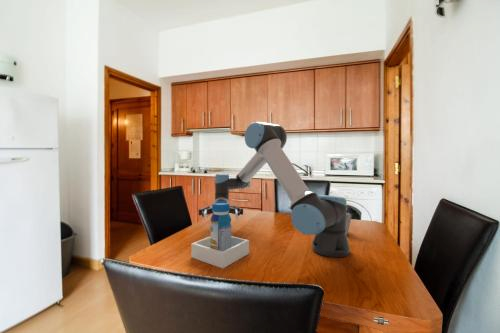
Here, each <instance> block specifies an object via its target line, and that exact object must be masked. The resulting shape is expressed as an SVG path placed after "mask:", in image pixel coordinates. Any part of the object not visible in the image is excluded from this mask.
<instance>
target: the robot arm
mask: <svg viewBox="0 0 500 333" xmlns="http://www.w3.org/2000/svg"><path fill="white" fill-rule="evenodd" d="M287 139H288V135H287V132H286V129H285V128H284V127H282V126H281V125H280V124H277V123H270V122H269V123H268V122H263V121H253V122H251V123H250V124H248V126H247V127H246V129H245V133H244V142H245V145H246V146H247V148H250V149H254V150H255V152H256V153H255V154H254V155H253V156H252V157H251V158H250V160H248V162H247V163H246V164H245V165H244V166H243V167H242V169H241V170H240V171H239V172H238V173H237V174H236V175H234V176H233V175H231V176H230V175H229V173H225V172H224V173H216V174H215V177H214V190H215V191H214V202H220V201H223V202H228V203H229V204H230V200H229V198H230V195H229V193H230V191H231V190H240V189H247V188H248V187H249V186H250V185H251V184H250V183H251V180H252V179H253V177H255V176H256V174H257V173H259V171H260V170H261V169H262V168H263V167H264V166H265V165H266V164H267V165H268V166H269V169H270V170H271V171H272V173H273V175H274V176H275V177H276V180H277V181H278V183H279V184H280V186H281V188H282V190H283V191H284V193H285V194H286V196H287V198H288V199H289V201H290V206H289V209H290V210H291V213H290V216H291V217H290V219H291V223H292V225H293V227H294V228H295V229H296V231H298V233H300V234H302V235H305V236H313V235H314V236H313V240H312V242H311V249H312V251H313V252H315V253H316V254H318V255H320V256H325V257H331V258H342V257H343V258H344V257H347V256H349V255H350V254H349V253H351V247H350V244H349V243H350V242H349V240H348V235H346V213H347V208H348V204H347V200H346V198H345V197H343V196H337V195H336V196H335V195H327V194H317V193H316V192H315V191H310V189H309V188H308V186H307V185H306V183H305V181H303V179H302V177H301V175H300V174H299V173H298V171H297V169H296V168H295V167H294V165H293V164H292V162H291V160H290V159H289V157H288V156H287V155H286V153H285V151H284V150H283V149H284V147H285V146H286V143H287ZM213 213H214V212H213V211H212V206H210V205H209V204H208V205H207V206H204V207H202V208H199V209H198V216H202V218H203V220H204V221H205V220H207V216H208V215H213ZM228 213H229V214H232V215H235V216H234V217H235V220H238V219H239V218H238V217H240V216H241V215H242V216H243V215H244V208H241V207H239V206H236V205H232V206H230V205H229V212H228Z"/></svg>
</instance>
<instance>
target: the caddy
mask: <svg viewBox="0 0 500 333" xmlns="http://www.w3.org/2000/svg"><path fill="white" fill-rule="evenodd" d="M190 246H191V251H190V252H191V253H190V254H191V259H195V260H198V261H201V262H203V263H206V264H210V265H213V266H214V267H217V268H220V269H224V268H226V267H228V266H229V265H231V264H233V263H236V262H237V261H239V260H240V259H242V258H244V257H245V256H247V255H249V254H250V240H249V239H245V238H241V237H237V236H234V235H231V248H229V249H227V250H225V251H223V252H222V251H219V250H216V249H212V248H211V235H210V236H207V237H205V238H202V239H200V240H197V241H194V242H191V245H190Z"/></svg>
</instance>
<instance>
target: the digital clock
mask: <svg viewBox="0 0 500 333" xmlns="http://www.w3.org/2000/svg"><path fill="white" fill-rule="evenodd" d="M351 221H352V214H351V213H348V212H346V236H348V235H349V230H350V225H351Z"/></svg>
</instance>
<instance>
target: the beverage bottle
mask: <svg viewBox="0 0 500 333" xmlns="http://www.w3.org/2000/svg"><path fill="white" fill-rule="evenodd" d="M229 206H230V202H229V203H228V202H223V201H220V202H215V201H214V202H212V204H211V207H212V211H213V212H214V213H212V214H211V217H210V220H209V222H210V226H209V230H210V236H211V248H212V249H216V250H219V251H222V252H223V251H225V250H227V249H229V248H231V236H232V218H231V215H230V213H228V212H229Z"/></svg>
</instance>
